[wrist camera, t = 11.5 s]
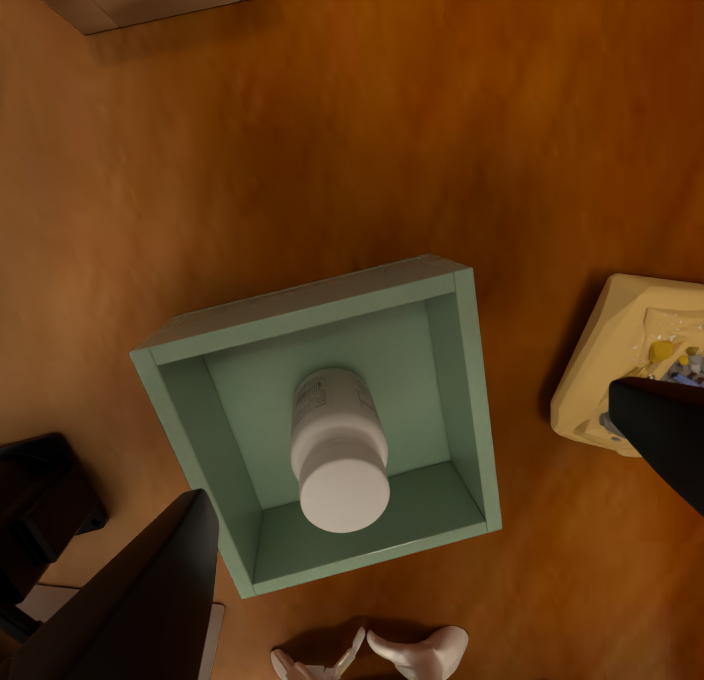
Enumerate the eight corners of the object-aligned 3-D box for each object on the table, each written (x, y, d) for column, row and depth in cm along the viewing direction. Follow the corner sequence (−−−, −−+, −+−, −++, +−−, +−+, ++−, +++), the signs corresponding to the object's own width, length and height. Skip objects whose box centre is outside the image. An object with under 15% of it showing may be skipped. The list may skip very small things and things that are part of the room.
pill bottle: (289, 432, 22) (281, 543, 15) (297, 362, 21) (292, 444, 13) (364, 437, 23) (392, 545, 15) (376, 369, 21) (413, 451, 14)
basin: (255, 517, 24) (241, 600, 19) (174, 315, 20) (127, 352, 14) (461, 462, 25) (502, 529, 19) (429, 252, 20) (473, 267, 15)
